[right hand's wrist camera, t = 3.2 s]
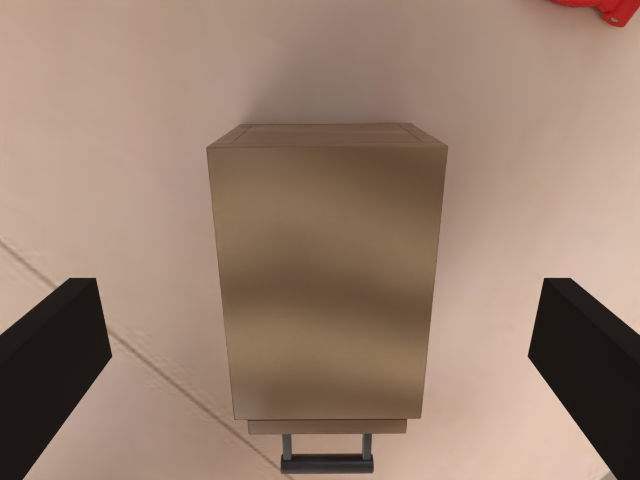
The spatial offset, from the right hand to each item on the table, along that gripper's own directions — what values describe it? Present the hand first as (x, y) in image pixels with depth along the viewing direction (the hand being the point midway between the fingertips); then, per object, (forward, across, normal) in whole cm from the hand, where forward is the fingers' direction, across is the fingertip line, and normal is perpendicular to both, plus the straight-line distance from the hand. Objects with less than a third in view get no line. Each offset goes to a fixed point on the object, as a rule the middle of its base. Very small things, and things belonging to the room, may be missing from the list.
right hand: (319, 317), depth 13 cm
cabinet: (+19, 0, -5) cm, 19 cm away
